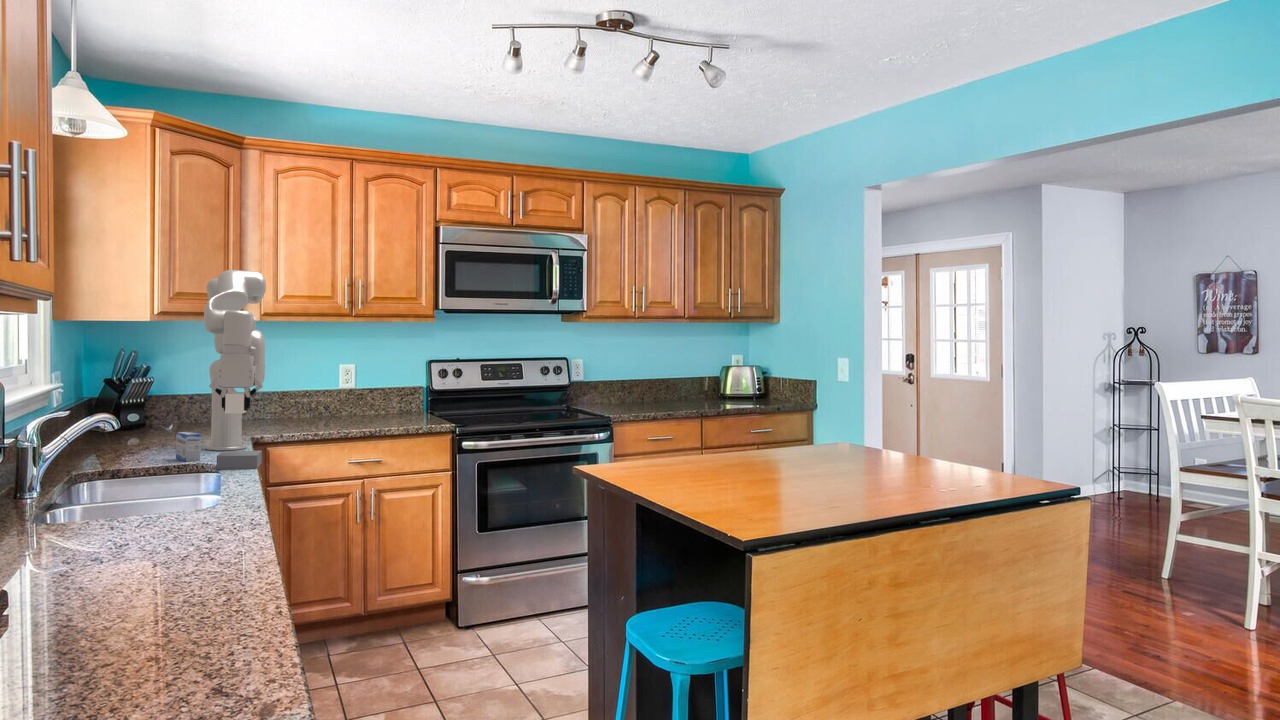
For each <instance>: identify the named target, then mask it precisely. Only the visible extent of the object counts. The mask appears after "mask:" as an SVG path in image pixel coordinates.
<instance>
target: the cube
mask: <svg viewBox="0 0 1280 720" xmlns="http://www.w3.org/2000/svg"><path fill="white" fill-rule="evenodd" d="M245 396H246V394H245V392H238V393H230V392H229V393H226V395H225V413H242V414H245V413H247V411H245V410H244V398H245Z"/></svg>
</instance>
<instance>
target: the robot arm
mask: <svg viewBox="0 0 1280 720" xmlns="http://www.w3.org/2000/svg"><path fill="white" fill-rule="evenodd" d="M266 281H267V280H266V278H265V276H264V275H263V274H262V273H261V272H259V271H254V270H242V269H241V270H237V269H227V270H224V271H222V272H221V273H220V274H219V275H218V277H217V278H216V277H215V278H211V279H210V280H209V281H208V282H207V283H206V295H207V298H208V300H207V302H206V304H205V305H204V309H203V310H204V311H203V320H204V327H205V330H206V331H207V332H208V333H210V334H214V349H215V351H216V353H217V354H218V355H220V357H219V359H217V360H214V361H213V362H211V364H210V366H209V379H210V384H209V389H211V427H210V429H211V430H210V433H211V434H210V435H211V436H210V438H211V439H210V444H206V446H205V449H206V450H208V451H221V452H222V451H240V450H243V449H246V448H247V444H246V443H242V435H243V434H242V433H243V431H242V426H243V424H242V423H243V420H242V419H243V413H225V395H226V393H229V392H230V393H239V392H238V391H237V390H236V389H243V390H244V393H245V394H246V396H245V398H244V410H245V411H246V412H247V411H248V410H249V409H250V408H251V397H252V396H254V394H256V393H257V392H258V391H260V390H261V389H263V387H264V385H263V384H264V382H265V377H266V369H265V368H266V341H265V340H266V339H265V337H264V334H263V332H262V331H261V330H258V329H256V327H257V318H256V317H255V316H254V314H253V313H252V312H251V311H248V310H242V309H244V308H245V307H246V306H247V304H254V305H255V304H259V303H260V302H262V300H263V298H264V296H265V293H266V291H267V290H266V289H267V283H266ZM252 387H254V388H252ZM251 388H252V389H251Z"/></svg>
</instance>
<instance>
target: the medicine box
mask: <svg viewBox="0 0 1280 720" xmlns="http://www.w3.org/2000/svg"><path fill="white" fill-rule="evenodd" d="M175 439H176V440H175V441H176V442H175V460H177V461H182V462H186V463H188V462H191V463H192V462H200V461H201V452H202V451H201V449H202V448H201V447H202V434H200V433H197V432H191V431H179V432H176V438H175Z"/></svg>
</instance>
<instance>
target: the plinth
mask: <svg viewBox="0 0 1280 720" xmlns="http://www.w3.org/2000/svg"><path fill="white" fill-rule="evenodd" d="M262 453H263V451H262V450H222V451H221V452H220V453H219V454H217V455H216V463H215V464H216V470H217V471H218V470H249V469H250V470H251V469H252V470H253V469H254V470H255V469H256V468H257V469H258V468H260V465H261V464H262V463H263V462H262V460H263V454H262Z"/></svg>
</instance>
